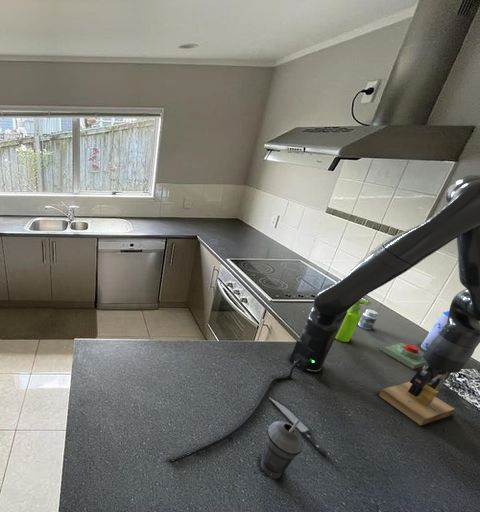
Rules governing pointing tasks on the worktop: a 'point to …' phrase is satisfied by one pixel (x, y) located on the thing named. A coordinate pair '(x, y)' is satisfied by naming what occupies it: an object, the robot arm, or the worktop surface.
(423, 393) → the lock knob
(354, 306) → the soap dispenser
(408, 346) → the alarm button
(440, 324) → the aerosol can
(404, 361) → the box
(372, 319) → the pill bottle
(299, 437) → the beverage cup
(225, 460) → the worktop surface
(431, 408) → the lock plate
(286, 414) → the chef's knife
